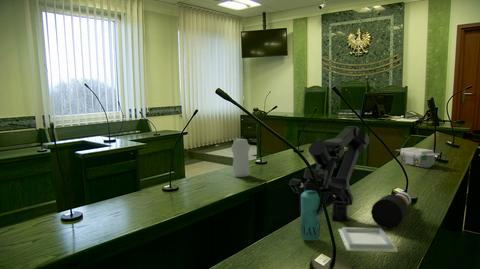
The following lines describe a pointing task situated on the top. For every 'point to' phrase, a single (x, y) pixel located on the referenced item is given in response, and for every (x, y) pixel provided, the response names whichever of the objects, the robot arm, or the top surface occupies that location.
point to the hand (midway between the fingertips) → (308, 212)
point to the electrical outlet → (417, 156)
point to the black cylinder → (391, 210)
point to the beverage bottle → (310, 212)
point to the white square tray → (366, 239)
